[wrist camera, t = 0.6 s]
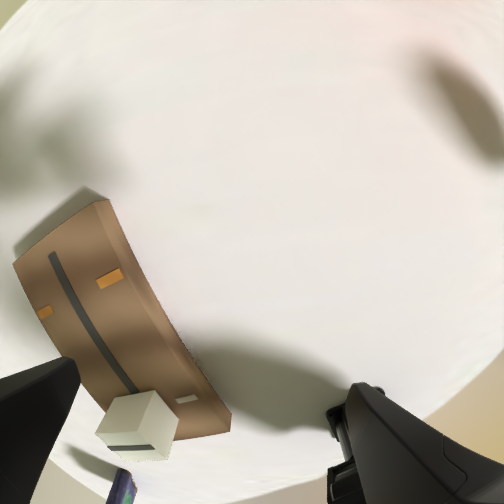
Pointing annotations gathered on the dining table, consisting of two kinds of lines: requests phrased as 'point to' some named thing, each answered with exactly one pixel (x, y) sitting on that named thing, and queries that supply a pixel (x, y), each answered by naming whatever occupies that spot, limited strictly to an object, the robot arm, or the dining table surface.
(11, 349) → the dining table surface
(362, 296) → the dining table surface
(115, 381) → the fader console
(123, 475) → the flask
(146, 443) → the fader knob
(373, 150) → the dining table surface
